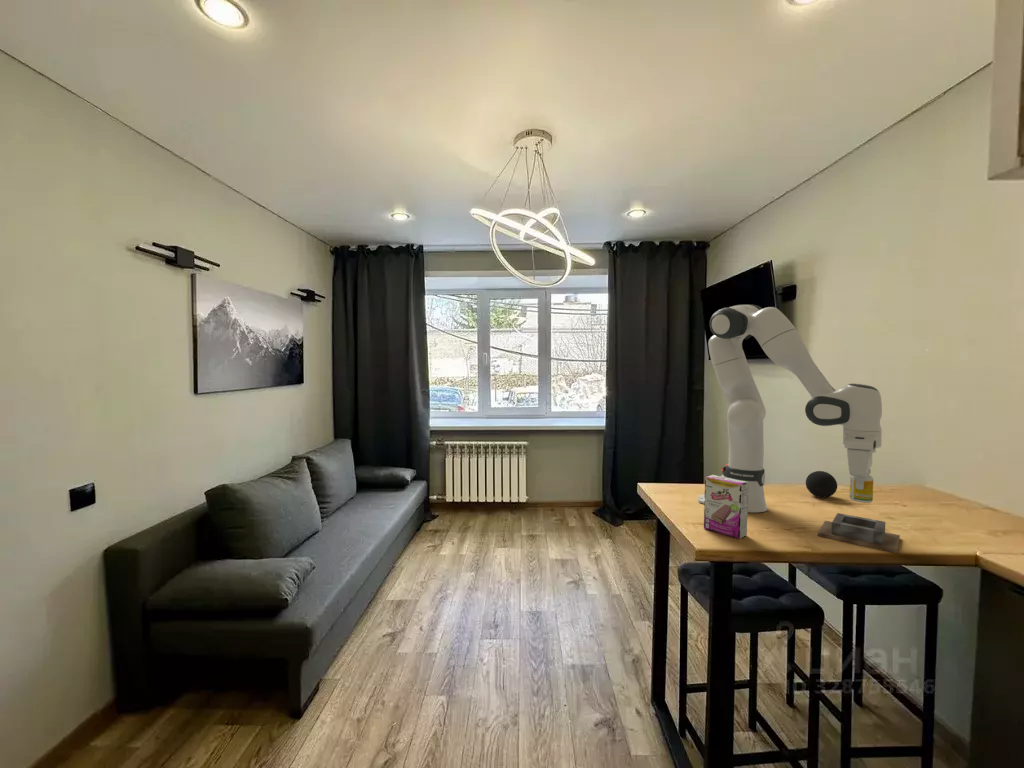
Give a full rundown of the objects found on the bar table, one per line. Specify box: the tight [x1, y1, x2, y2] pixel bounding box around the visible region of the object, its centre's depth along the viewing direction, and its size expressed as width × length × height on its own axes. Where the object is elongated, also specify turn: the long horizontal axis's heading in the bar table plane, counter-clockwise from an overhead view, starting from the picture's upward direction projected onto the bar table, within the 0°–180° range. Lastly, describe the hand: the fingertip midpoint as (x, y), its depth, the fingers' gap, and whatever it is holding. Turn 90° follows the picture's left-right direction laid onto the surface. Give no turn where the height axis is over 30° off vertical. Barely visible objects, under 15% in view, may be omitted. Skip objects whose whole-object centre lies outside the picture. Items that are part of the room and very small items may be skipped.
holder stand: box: [816, 512, 901, 554], centre depth 131 cm, size 18×14×4 cm
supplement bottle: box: [849, 468, 874, 504], centre depth 131 cm, size 5×5×10 cm
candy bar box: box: [703, 474, 749, 540], centre depth 135 cm, size 11×5×16 cm, turn 39°
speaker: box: [805, 470, 838, 499], centre depth 171 cm, size 10×10×10 cm
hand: (861, 486), depth 131 cm, fingers closed on supplement bottle, 5 cm apart
